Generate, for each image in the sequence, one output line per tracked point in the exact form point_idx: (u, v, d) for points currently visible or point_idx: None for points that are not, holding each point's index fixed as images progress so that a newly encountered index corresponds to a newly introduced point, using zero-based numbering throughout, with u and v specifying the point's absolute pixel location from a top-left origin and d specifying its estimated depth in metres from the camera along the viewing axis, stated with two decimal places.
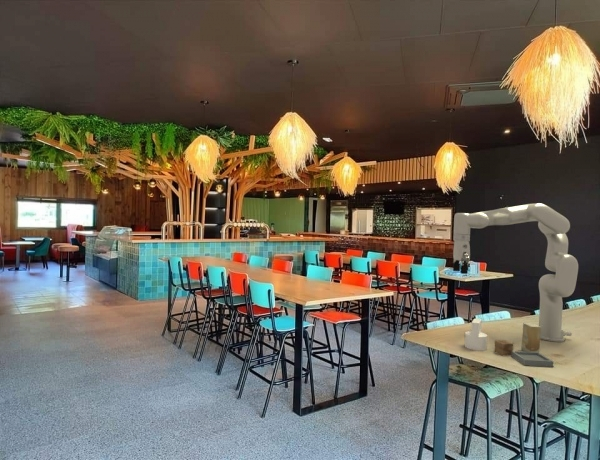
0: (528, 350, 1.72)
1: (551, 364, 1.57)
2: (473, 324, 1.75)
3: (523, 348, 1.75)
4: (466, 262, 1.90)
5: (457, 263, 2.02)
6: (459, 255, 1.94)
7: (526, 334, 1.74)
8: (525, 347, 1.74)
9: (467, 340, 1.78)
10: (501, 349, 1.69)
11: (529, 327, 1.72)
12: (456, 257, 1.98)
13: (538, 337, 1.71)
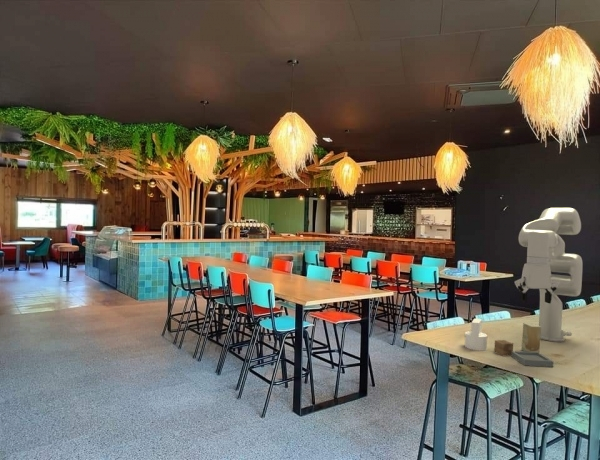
0: (528, 350, 1.72)
1: (551, 364, 1.57)
2: (473, 324, 1.75)
3: (523, 348, 1.75)
4: None
5: None
6: (549, 282, 1.61)
7: (526, 334, 1.74)
8: (525, 347, 1.74)
9: (467, 340, 1.78)
10: (501, 349, 1.69)
11: (529, 327, 1.72)
12: (540, 285, 1.61)
13: (538, 337, 1.71)
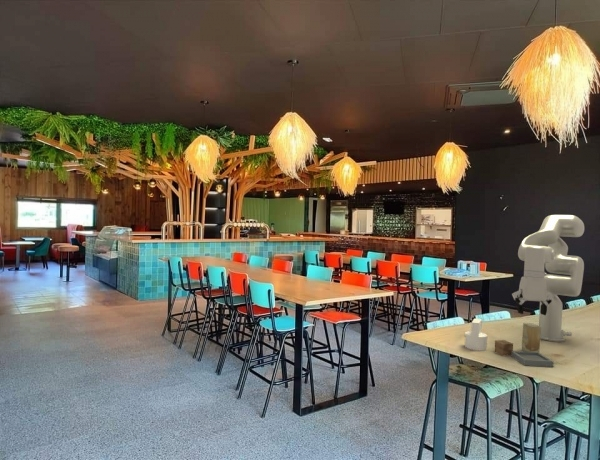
0: (528, 350, 1.72)
1: (551, 364, 1.57)
2: (473, 324, 1.75)
3: (523, 348, 1.75)
4: None
5: None
6: (544, 295, 1.71)
7: (526, 334, 1.74)
8: (525, 347, 1.74)
9: (467, 340, 1.78)
10: (501, 349, 1.69)
11: (529, 327, 1.72)
12: (536, 298, 1.71)
13: (538, 337, 1.71)
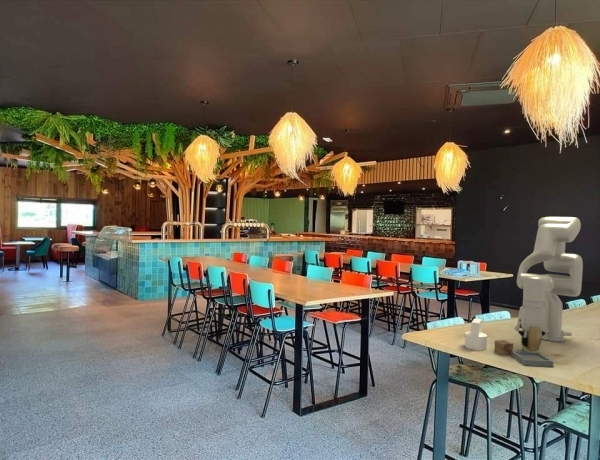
0: (528, 350, 1.72)
1: (551, 364, 1.57)
2: (473, 324, 1.75)
3: (523, 348, 1.75)
4: None
5: None
6: (543, 325, 1.71)
7: None
8: (525, 347, 1.74)
9: (467, 340, 1.78)
10: (501, 349, 1.69)
11: None
12: None
13: (538, 337, 1.71)
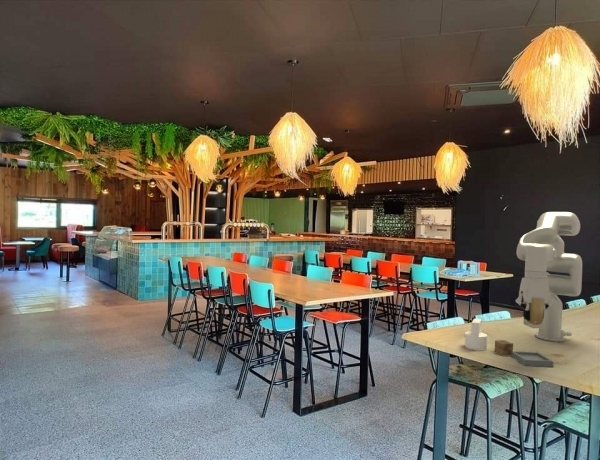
0: (531, 324, 1.60)
1: (551, 364, 1.57)
2: (473, 324, 1.75)
3: (525, 322, 1.63)
4: None
5: None
6: (547, 297, 1.59)
7: None
8: (527, 321, 1.62)
9: (467, 340, 1.78)
10: (501, 349, 1.69)
11: None
12: None
13: (541, 310, 1.59)
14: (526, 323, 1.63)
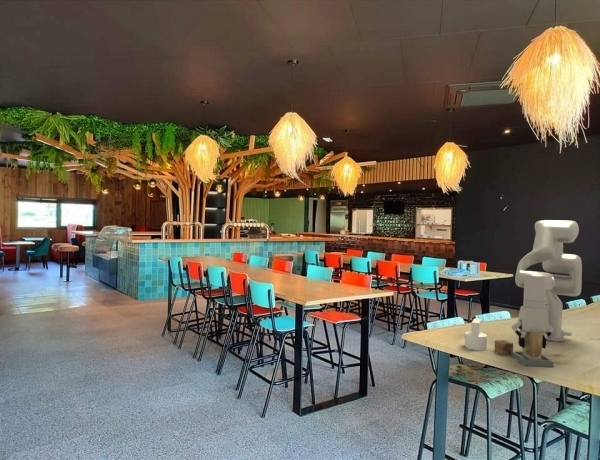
0: (529, 356, 1.60)
1: (551, 364, 1.57)
2: (473, 324, 1.75)
3: (524, 354, 1.64)
4: None
5: None
6: (545, 326, 1.60)
7: (527, 338, 1.62)
8: (526, 353, 1.63)
9: (467, 340, 1.78)
10: (501, 349, 1.69)
11: None
12: (536, 329, 1.60)
13: (539, 342, 1.59)
14: (525, 354, 1.63)
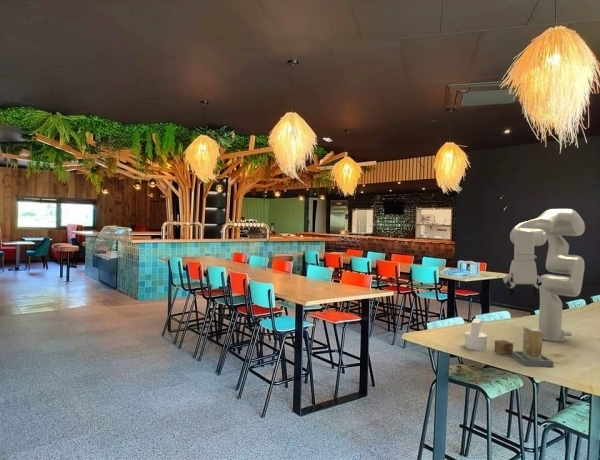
0: (529, 356, 1.60)
1: (551, 364, 1.57)
2: (473, 324, 1.75)
3: (524, 354, 1.64)
4: None
5: None
6: (535, 278, 1.71)
7: (527, 338, 1.62)
8: (526, 353, 1.63)
9: (467, 340, 1.78)
10: (501, 349, 1.69)
11: (530, 331, 1.60)
12: (526, 281, 1.71)
13: (539, 342, 1.59)
14: (525, 354, 1.63)
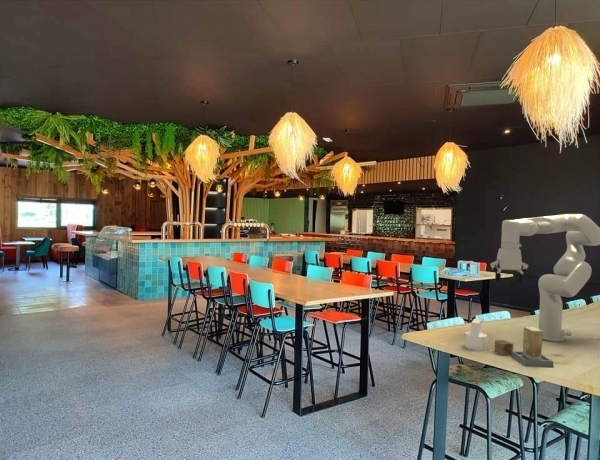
0: (529, 356, 1.60)
1: (551, 364, 1.57)
2: (473, 324, 1.75)
3: (524, 354, 1.64)
4: None
5: None
6: (519, 264, 1.87)
7: (527, 338, 1.62)
8: (526, 353, 1.63)
9: (467, 340, 1.78)
10: (501, 349, 1.69)
11: (530, 331, 1.60)
12: (511, 267, 1.87)
13: (539, 342, 1.59)
14: (525, 354, 1.63)
